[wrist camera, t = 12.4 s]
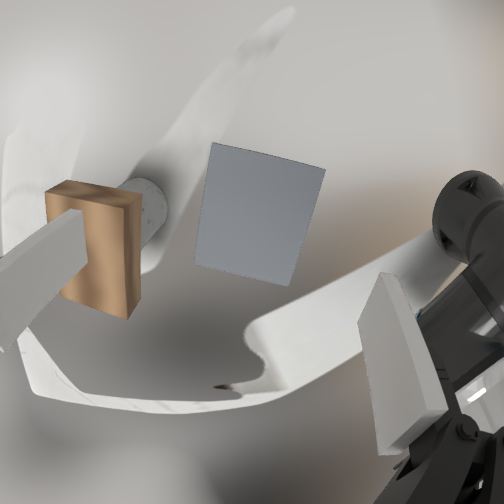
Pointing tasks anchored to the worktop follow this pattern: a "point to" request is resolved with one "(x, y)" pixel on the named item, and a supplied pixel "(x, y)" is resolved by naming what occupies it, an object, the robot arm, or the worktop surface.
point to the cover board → (103, 245)
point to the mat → (255, 213)
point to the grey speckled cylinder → (148, 206)
